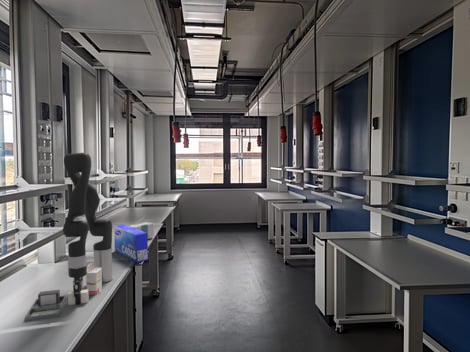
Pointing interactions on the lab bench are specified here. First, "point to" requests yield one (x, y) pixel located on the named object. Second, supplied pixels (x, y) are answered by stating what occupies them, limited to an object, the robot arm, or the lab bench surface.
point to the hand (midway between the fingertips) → (78, 302)
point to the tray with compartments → (45, 310)
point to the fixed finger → (49, 297)
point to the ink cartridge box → (94, 279)
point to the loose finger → (83, 297)
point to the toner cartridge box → (131, 243)
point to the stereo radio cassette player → (145, 228)
